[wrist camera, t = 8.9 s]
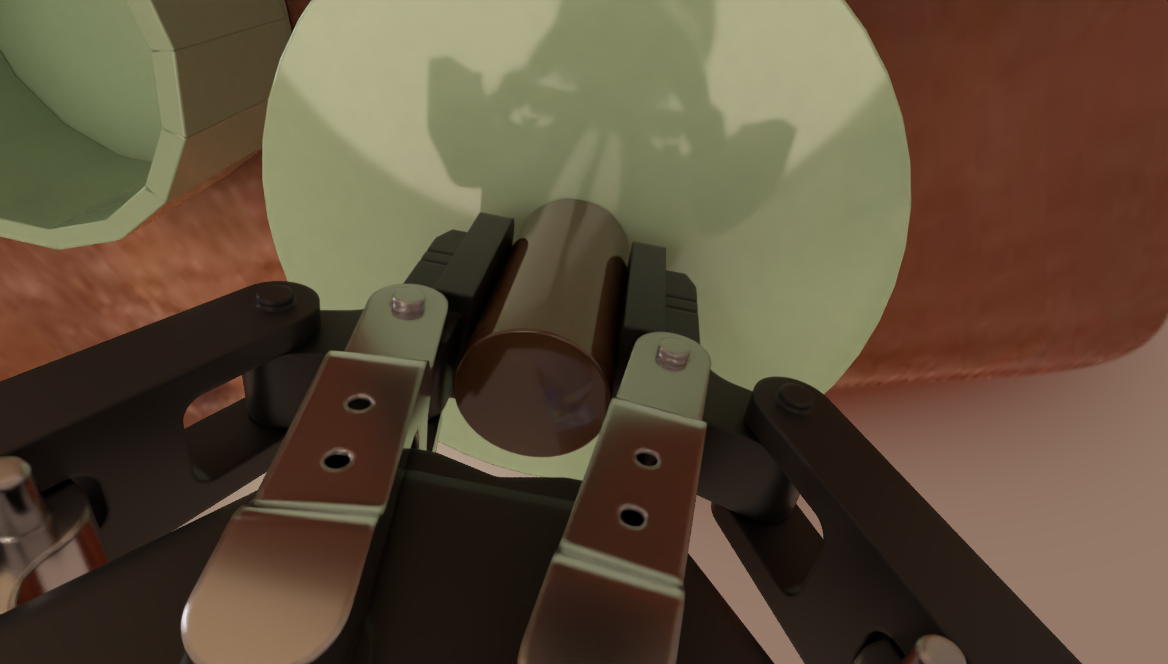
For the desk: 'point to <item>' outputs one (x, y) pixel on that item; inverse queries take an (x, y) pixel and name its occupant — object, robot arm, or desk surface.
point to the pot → (126, 108)
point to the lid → (595, 186)
